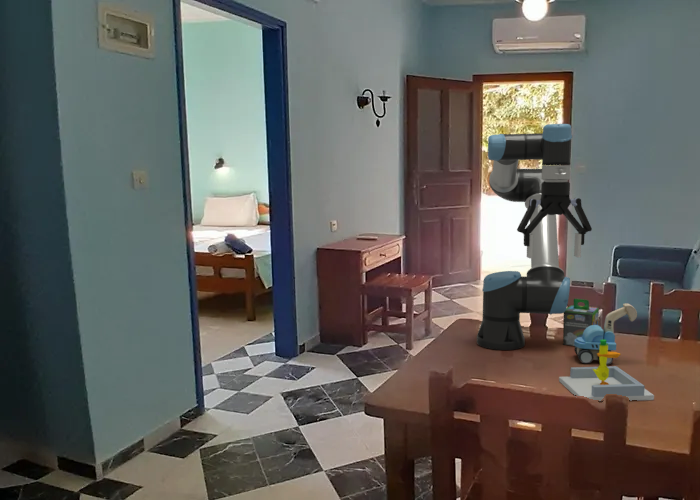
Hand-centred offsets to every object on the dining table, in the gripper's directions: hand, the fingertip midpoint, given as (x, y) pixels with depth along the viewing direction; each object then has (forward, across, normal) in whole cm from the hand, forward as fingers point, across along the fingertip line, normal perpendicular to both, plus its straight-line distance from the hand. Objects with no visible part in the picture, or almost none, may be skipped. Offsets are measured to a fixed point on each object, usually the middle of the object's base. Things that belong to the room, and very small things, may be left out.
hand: (553, 257), depth 176 cm
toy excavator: (+32, +17, +4) cm, 37 cm away
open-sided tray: (+32, +7, -20) cm, 38 cm away
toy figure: (+31, +7, -20) cm, 37 cm away
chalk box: (+32, +18, +22) cm, 43 cm away
